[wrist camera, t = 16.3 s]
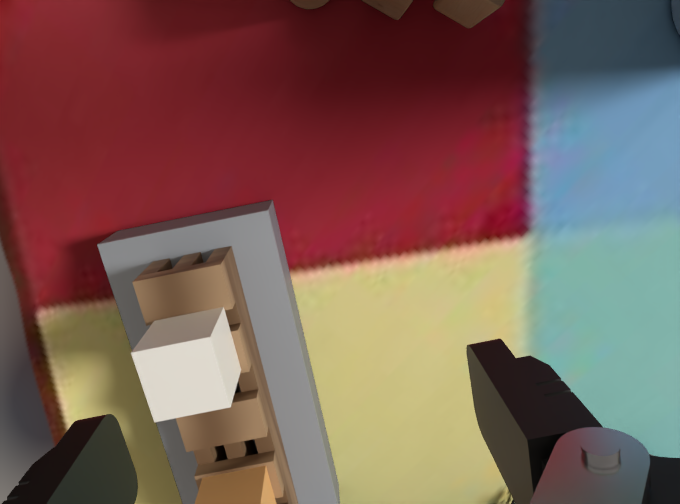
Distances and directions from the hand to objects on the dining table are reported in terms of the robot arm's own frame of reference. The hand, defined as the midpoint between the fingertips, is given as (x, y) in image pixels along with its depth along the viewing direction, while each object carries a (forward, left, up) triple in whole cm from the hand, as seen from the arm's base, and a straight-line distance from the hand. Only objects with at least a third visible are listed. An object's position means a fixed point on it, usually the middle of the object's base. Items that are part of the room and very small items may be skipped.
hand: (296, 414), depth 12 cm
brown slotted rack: (+9, +13, -26) cm, 30 cm away
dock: (+9, +13, -30) cm, 34 cm away
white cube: (+9, +7, -22) cm, 24 cm away
